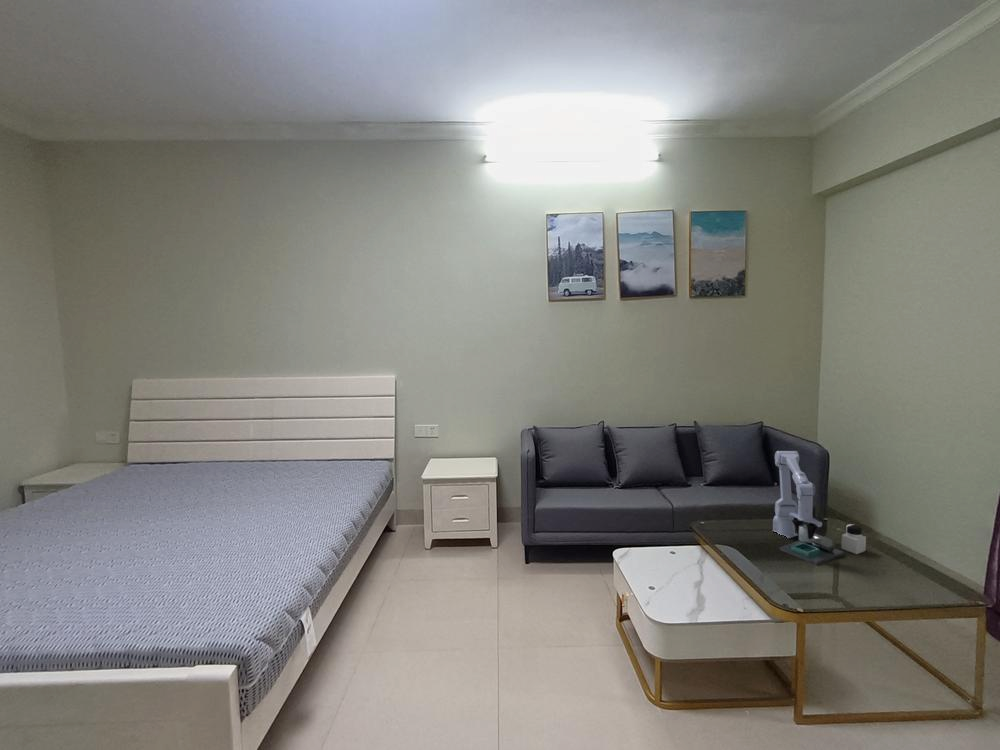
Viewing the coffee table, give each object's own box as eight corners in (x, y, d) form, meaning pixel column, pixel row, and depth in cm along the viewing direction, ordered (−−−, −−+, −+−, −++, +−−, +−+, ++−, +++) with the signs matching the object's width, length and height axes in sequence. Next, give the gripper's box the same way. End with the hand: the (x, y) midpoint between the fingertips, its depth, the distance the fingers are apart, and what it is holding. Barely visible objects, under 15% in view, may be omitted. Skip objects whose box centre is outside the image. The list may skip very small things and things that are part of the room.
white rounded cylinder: (796, 539, 237) (796, 525, 236) (803, 537, 238) (803, 523, 238) (805, 542, 232) (805, 529, 232) (813, 540, 234) (813, 527, 233)
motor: (779, 550, 242) (779, 535, 241) (806, 540, 250) (806, 527, 250) (816, 565, 226) (816, 550, 225) (844, 555, 234) (844, 540, 233)
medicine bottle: (866, 551, 237) (866, 526, 236) (857, 554, 234) (857, 529, 233) (850, 545, 243) (850, 521, 242) (841, 548, 240) (841, 524, 239)
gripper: (785, 505, 239) (784, 532, 240) (815, 515, 226) (814, 544, 227) (794, 502, 242) (794, 529, 243) (825, 512, 229) (824, 540, 230)
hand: (805, 536), depth 235 cm, fingers closed on white rounded cylinder, 5 cm apart
